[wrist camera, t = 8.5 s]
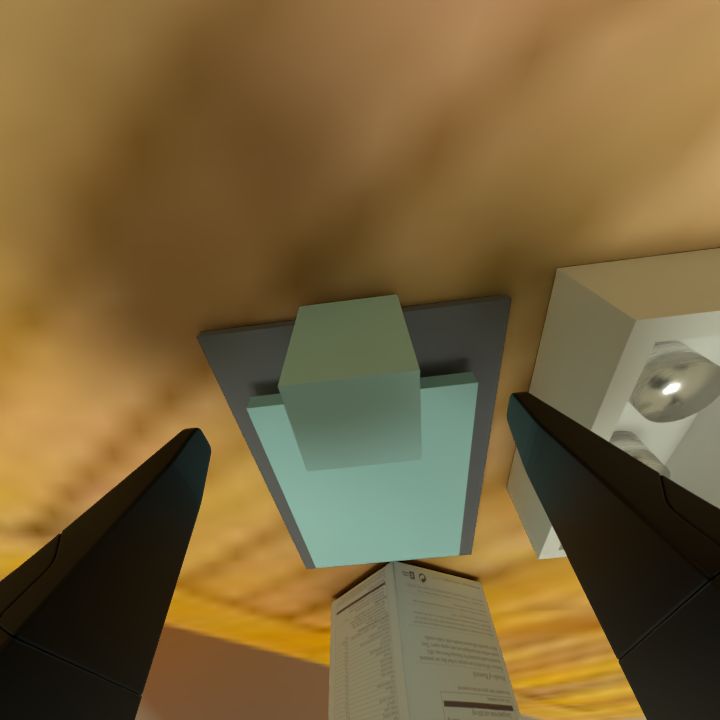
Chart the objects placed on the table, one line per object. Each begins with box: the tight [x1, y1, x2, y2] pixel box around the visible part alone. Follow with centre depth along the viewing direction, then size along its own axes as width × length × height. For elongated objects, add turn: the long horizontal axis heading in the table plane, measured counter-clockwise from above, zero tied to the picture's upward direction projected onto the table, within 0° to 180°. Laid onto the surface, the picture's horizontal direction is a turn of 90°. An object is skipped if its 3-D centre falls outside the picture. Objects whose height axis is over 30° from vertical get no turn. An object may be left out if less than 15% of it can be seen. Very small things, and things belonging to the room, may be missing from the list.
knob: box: [609, 431, 671, 479], centre depth 16 cm, size 3×3×2 cm
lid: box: [246, 294, 478, 568], centre depth 15 cm, size 18×9×5 cm, turn 7°
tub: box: [507, 248, 720, 559], centre depth 14 cm, size 14×9×4 cm, turn 7°
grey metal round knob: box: [628, 340, 720, 423], centre depth 13 cm, size 3×3×2 cm
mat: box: [197, 294, 511, 569], centre depth 18 cm, size 20×12×1 cm, turn 7°
